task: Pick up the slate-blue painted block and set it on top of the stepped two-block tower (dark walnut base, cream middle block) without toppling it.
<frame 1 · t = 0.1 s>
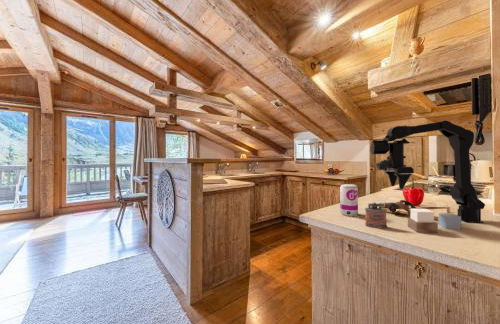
hand: (396, 187, 102), 15 cm above the counter, fingers open, 9 cm apart
walnut base block: (422, 230, 87), on the counter
slate block: (449, 227, 90), on the counter
lighter: (375, 226, 93), on the counter
supplement can: (349, 214, 112), on the counter
cream middle block: (421, 220, 87), point 4 cm above the counter
dark brown irregular piece: (400, 215, 109), on the counter
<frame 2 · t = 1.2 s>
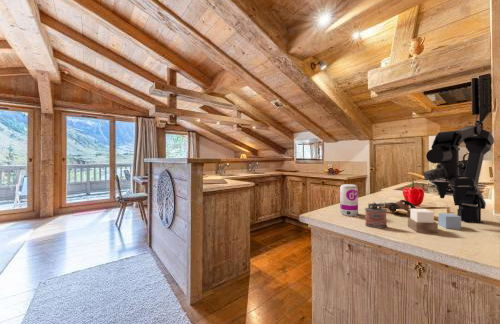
hand: (449, 200, 89), 11 cm above the counter, fingers open, 9 cm apart
walnut base block: (422, 230, 87), on the counter, touching cream middle block
cream middle block: (421, 220, 87), point 4 cm above the counter, touching walnut base block
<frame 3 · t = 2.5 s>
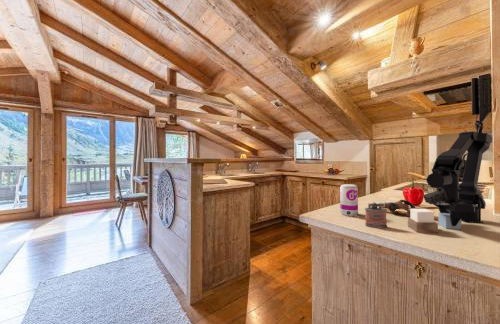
hand: (449, 223, 90), 1 cm above the counter, fingers closed on slate block, 5 cm apart
slate block: (449, 226, 90), on the counter, touching gripper
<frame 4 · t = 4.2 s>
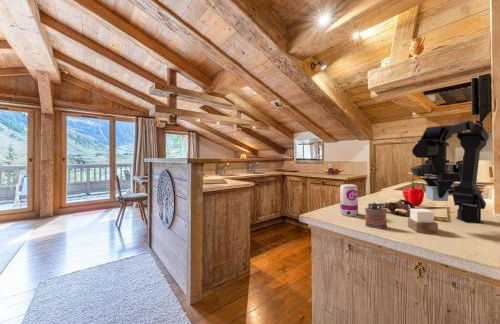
hand: (436, 196, 88), 13 cm above the counter, fingers closed on slate block, 5 cm apart
slate block: (436, 199, 88), point 12 cm above the counter, touching gripper
when the fingers open (10 cm above the counter, at t = 5.3 s): slate block drops 1 cm, point 8 cm above the counter.
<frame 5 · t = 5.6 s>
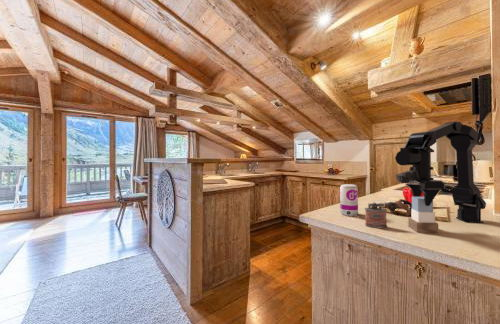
hand: (421, 203, 87), 10 cm above the counter, fingers open, 8 cm apart
slate block: (422, 210, 87), point 8 cm above the counter
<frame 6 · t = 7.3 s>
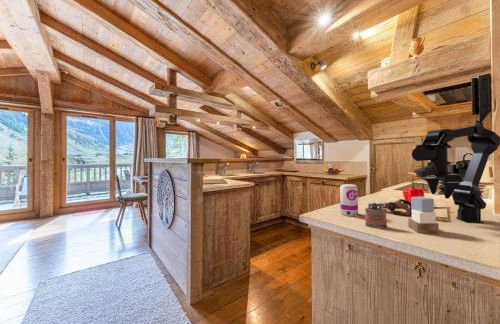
hand: (439, 196, 93), 12 cm above the counter, fingers open, 9 cm apart
slate block: (422, 210, 87), point 8 cm above the counter, touching cream middle block
cream middle block: (423, 221, 86), point 4 cm above the counter, touching slate block, walnut base block
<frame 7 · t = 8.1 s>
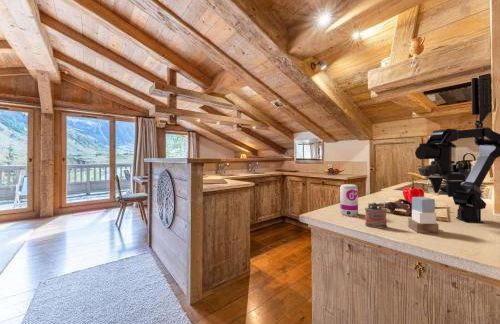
hand: (442, 194, 95), 12 cm above the counter, fingers open, 9 cm apart
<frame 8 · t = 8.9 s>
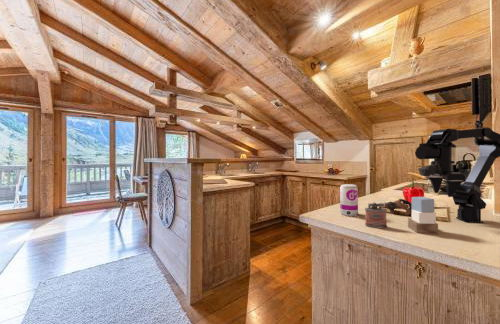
hand: (442, 194, 95), 12 cm above the counter, fingers open, 9 cm apart
walnut base block: (422, 230, 87), on the counter
cream middle block: (423, 221, 86), point 4 cm above the counter, touching slate block
at the end: slate block 0.2 cm off-centre on the walnut base block, point 8.0 cm above the walnut base block's base; slate block tilted 0°; cream middle block moved 1.6 cm from its start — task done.
